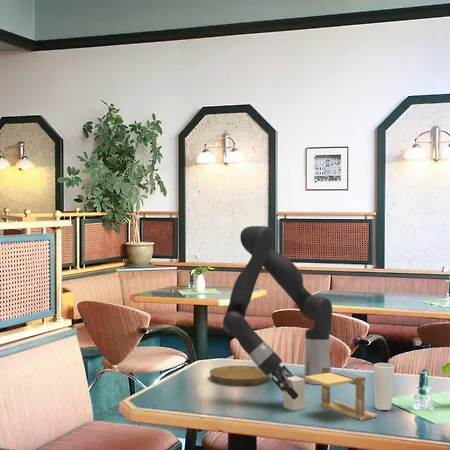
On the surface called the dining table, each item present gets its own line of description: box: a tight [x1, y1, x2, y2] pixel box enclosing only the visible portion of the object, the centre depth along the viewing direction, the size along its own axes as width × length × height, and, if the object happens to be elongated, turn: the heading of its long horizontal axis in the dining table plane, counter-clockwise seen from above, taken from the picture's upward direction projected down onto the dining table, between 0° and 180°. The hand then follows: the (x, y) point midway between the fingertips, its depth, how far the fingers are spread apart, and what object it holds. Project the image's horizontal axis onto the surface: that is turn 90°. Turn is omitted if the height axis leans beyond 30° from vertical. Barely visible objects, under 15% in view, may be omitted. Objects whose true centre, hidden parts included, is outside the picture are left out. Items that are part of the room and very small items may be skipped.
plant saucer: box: [209, 365, 272, 386], centre depth 282 cm, size 24×24×3 cm
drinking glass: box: [373, 362, 395, 411], centre depth 243 cm, size 7×7×15 cm
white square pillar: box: [283, 375, 306, 412], centre depth 244 cm, size 5×5×10 cm
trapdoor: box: [304, 370, 360, 387], centre depth 236 cm, size 17×11×2 cm
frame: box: [319, 366, 378, 422], centre depth 240 cm, size 7×20×14 cm, turn 34°
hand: (298, 394), depth 243 cm, fingers closed on white square pillar, 7 cm apart
